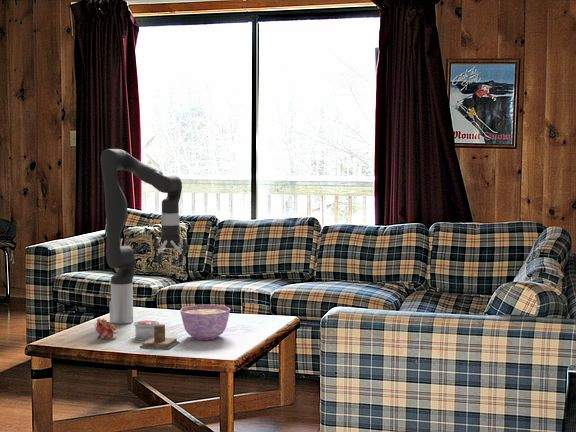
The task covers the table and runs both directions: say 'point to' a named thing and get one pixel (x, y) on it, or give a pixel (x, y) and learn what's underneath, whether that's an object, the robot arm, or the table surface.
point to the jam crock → (145, 329)
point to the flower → (105, 329)
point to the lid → (159, 338)
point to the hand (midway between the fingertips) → (170, 262)
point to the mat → (161, 347)
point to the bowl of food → (205, 320)
